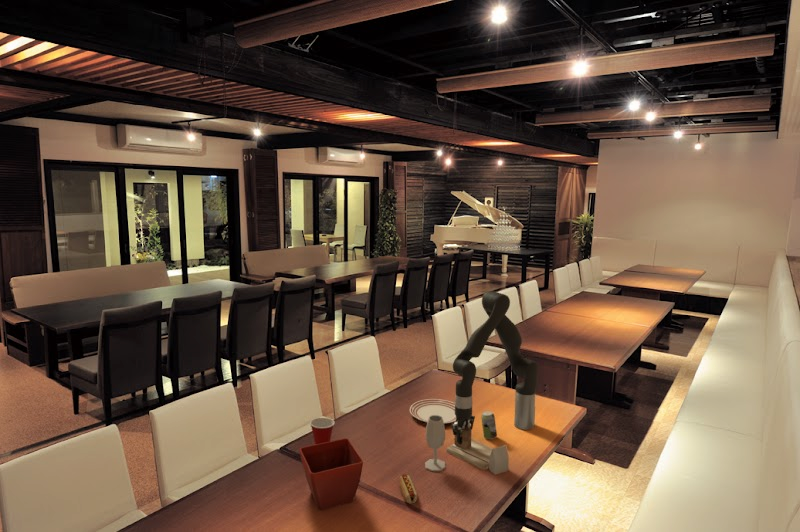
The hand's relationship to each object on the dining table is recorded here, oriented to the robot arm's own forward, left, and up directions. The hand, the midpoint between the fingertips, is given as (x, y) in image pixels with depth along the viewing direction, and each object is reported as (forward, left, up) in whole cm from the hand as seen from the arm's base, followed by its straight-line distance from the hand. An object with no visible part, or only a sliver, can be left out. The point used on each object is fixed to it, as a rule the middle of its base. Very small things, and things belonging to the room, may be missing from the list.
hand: (462, 441), depth 214 cm
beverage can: (-18, +1, -4) cm, 19 cm away
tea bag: (+2, +20, -4) cm, 20 cm away
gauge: (0, 0, -2) cm, 2 cm away
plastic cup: (+42, -45, -4) cm, 62 cm away
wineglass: (+18, 0, -4) cm, 19 cm away
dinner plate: (-18, -31, -5) cm, 36 cm away
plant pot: (+61, -13, -4) cm, 63 cm away
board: (-1, +6, -4) cm, 7 cm away
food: (+40, +6, -5) cm, 40 cm away
